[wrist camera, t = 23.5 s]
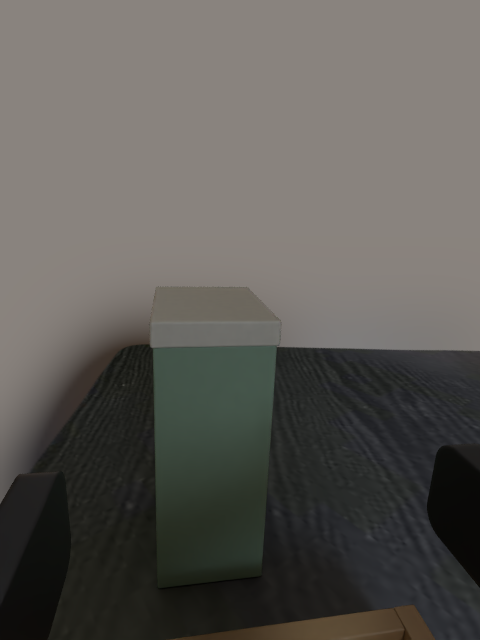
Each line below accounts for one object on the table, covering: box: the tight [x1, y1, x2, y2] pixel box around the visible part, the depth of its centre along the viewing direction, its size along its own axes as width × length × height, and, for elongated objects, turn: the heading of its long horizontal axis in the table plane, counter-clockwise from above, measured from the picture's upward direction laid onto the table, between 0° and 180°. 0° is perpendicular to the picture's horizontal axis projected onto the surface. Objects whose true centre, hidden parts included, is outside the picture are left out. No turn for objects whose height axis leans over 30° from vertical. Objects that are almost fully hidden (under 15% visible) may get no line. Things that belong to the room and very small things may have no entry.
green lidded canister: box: [149, 287, 281, 588], centre depth 19 cm, size 5×7×12 cm
